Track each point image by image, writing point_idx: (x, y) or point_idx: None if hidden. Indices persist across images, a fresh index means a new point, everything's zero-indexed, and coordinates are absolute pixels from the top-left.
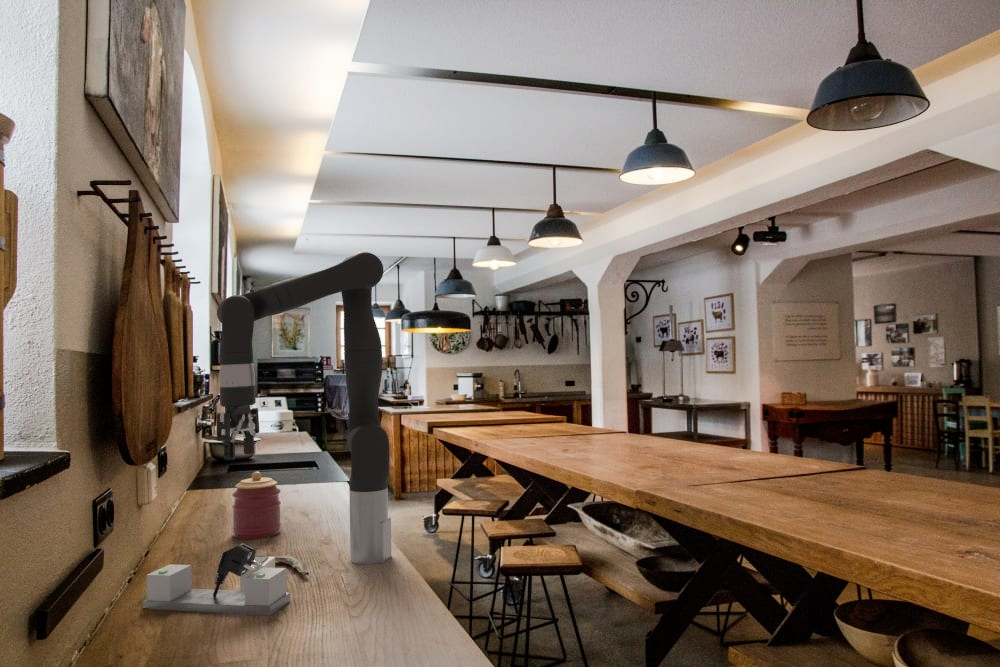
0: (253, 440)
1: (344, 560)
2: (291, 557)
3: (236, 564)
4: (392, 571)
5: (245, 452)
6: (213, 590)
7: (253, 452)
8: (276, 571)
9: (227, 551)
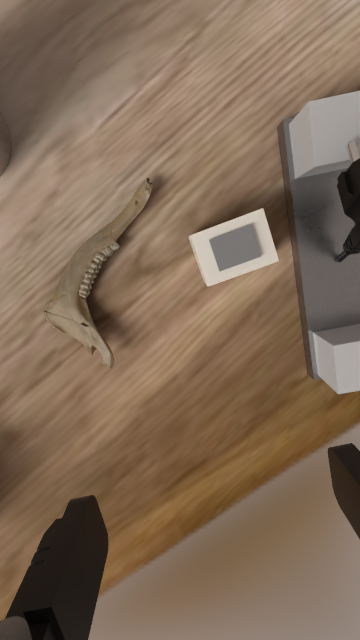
0: (42, 582)
1: (2, 193)
2: (68, 291)
3: None
4: (28, 20)
5: (104, 541)
6: (307, 288)
7: (80, 498)
8: (337, 107)
9: None
